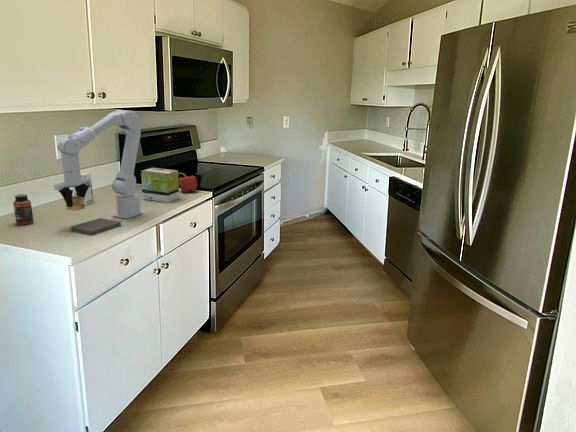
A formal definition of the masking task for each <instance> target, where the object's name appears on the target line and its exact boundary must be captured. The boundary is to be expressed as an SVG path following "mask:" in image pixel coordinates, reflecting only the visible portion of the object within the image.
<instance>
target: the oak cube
mask: <svg viewBox="0 0 576 432" xmlns="http://www.w3.org/2000/svg"><path fill="white" fill-rule="evenodd" d="M72 203H73V205H72V207H67V204H66V203H65V208H66V210H69V211H73V212H76V211H80V210H83V209H85V208H86V205H84V197H80V196H74V195H72Z"/></svg>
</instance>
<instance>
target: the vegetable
mask: <svg viewBox="0 0 576 432" xmlns="http://www.w3.org/2000/svg"><path fill="white" fill-rule="evenodd" d="M180 175H182V176H184V177H178V183H179V188H180V190H181V191H182V192H183V193H190V192H194V191H196V189H197V187H198V182H197V177H196V176H195V175H190V176H189V175H188V176H187V175H186V174H185V173H183V172H178V176H180Z"/></svg>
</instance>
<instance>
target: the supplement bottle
mask: <svg viewBox="0 0 576 432" xmlns="http://www.w3.org/2000/svg"><path fill="white" fill-rule="evenodd" d="M14 197H15V198H14V199H15V200H14V201H13V203H12V205H13V210H14V212H13V213H14V217H15V222H16V224H17V225H19V226H25V225H31V224H32V223H34V214H33V207H32V201H31V199H30V200H29V199H28V194H26V193H25V194H24V193H23V194H22V193H21V194H17V195H14Z"/></svg>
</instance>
